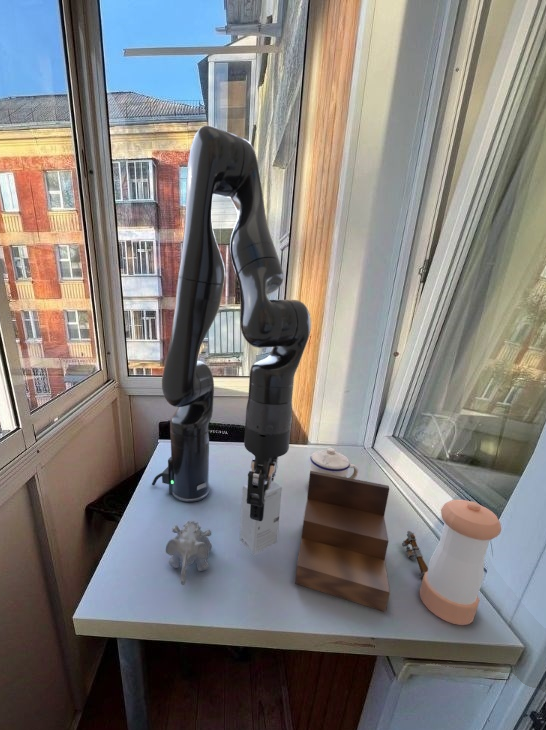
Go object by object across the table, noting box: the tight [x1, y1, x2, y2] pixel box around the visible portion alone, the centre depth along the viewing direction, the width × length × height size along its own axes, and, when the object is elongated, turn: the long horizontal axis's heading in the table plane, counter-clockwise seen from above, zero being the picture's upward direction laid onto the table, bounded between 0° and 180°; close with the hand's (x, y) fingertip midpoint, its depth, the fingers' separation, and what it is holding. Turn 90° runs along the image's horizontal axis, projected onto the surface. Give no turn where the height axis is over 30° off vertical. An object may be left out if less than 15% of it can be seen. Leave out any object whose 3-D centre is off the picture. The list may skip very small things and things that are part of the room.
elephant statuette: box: [165, 520, 213, 586], centre depth 60 cm, size 9×12×8 cm
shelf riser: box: [294, 470, 391, 612], centre depth 60 cm, size 14×15×14 cm
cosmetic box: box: [239, 480, 283, 555], centre depth 61 cm, size 6×4×12 cm
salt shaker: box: [419, 499, 502, 626], centre depth 51 cm, size 7×7×19 cm
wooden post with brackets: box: [401, 530, 429, 579], centre depth 62 cm, size 2×8×4 cm, turn 177°
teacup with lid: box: [307, 447, 359, 486], centre depth 82 cm, size 12×9×12 cm
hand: (261, 505), depth 61 cm, fingers closed on cosmetic box, 7 cm apart
